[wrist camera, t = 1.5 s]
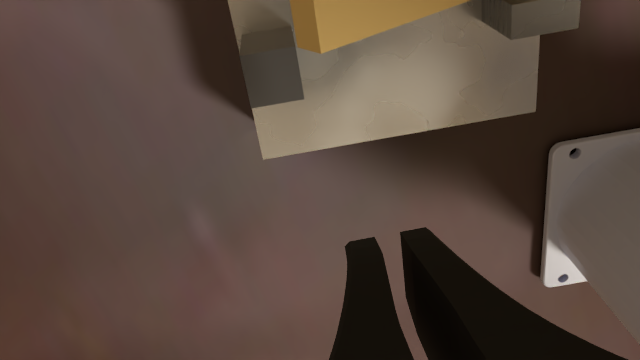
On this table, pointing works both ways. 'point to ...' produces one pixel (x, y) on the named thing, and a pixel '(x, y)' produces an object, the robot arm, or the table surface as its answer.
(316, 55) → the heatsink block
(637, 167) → the robot arm
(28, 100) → the table surface
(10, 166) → the table surface
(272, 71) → the lug
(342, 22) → the golden yellow flat bar
